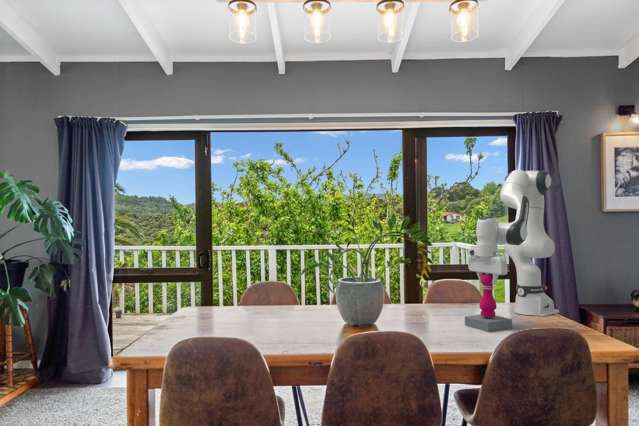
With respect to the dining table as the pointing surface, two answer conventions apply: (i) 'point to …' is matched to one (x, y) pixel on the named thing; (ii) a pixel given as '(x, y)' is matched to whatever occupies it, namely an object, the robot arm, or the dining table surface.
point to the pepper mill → (487, 297)
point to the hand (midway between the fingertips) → (487, 283)
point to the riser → (488, 323)
